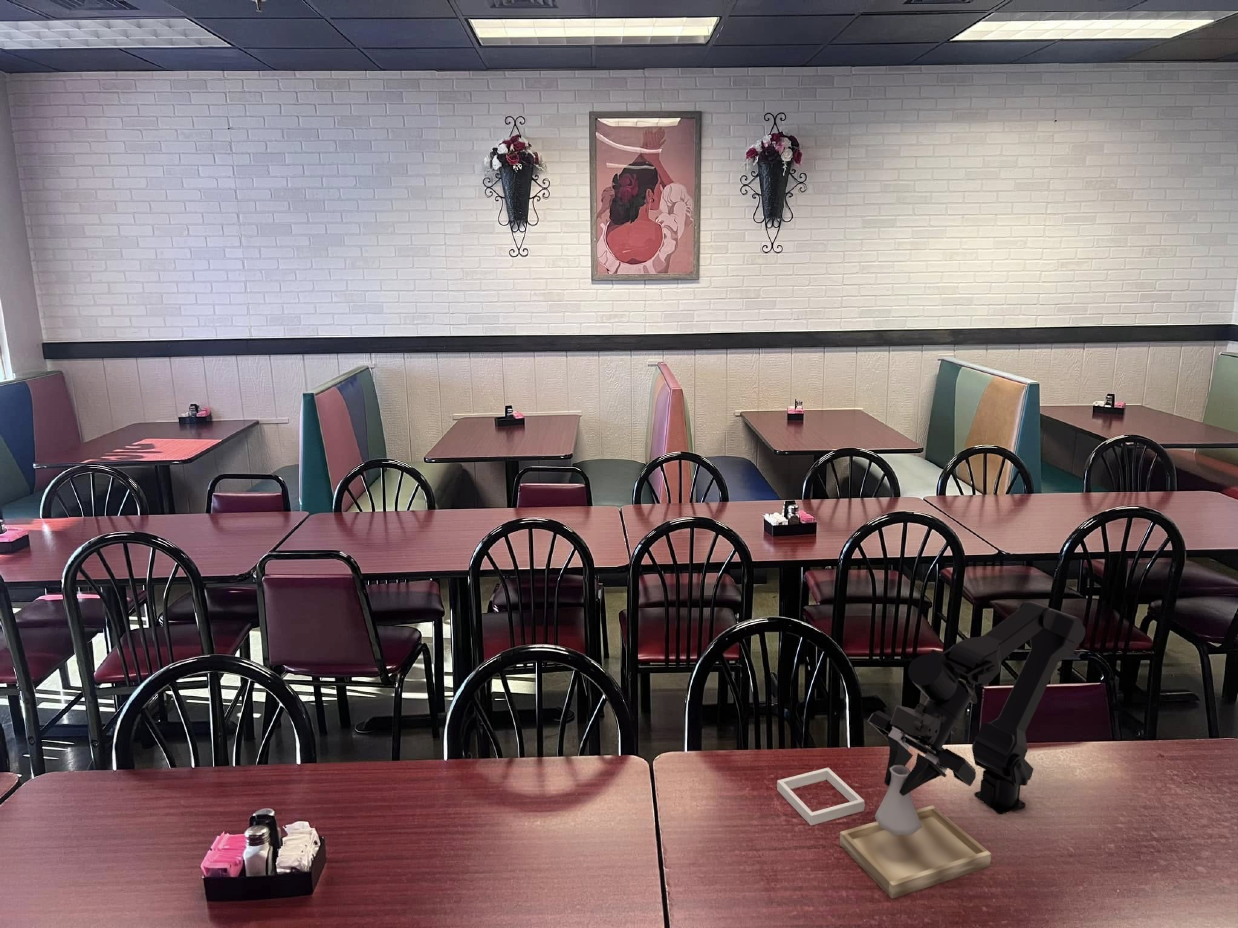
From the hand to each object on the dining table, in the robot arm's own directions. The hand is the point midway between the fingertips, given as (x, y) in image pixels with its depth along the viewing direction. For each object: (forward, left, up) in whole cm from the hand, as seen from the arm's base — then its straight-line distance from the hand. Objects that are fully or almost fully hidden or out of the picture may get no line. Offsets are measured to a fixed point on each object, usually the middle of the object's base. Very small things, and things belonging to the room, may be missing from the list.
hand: (893, 789), depth 138 cm
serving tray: (-4, +1, -13) cm, 14 cm away
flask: (-1, 0, -7) cm, 7 cm away
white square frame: (+2, -18, -13) cm, 22 cm away
